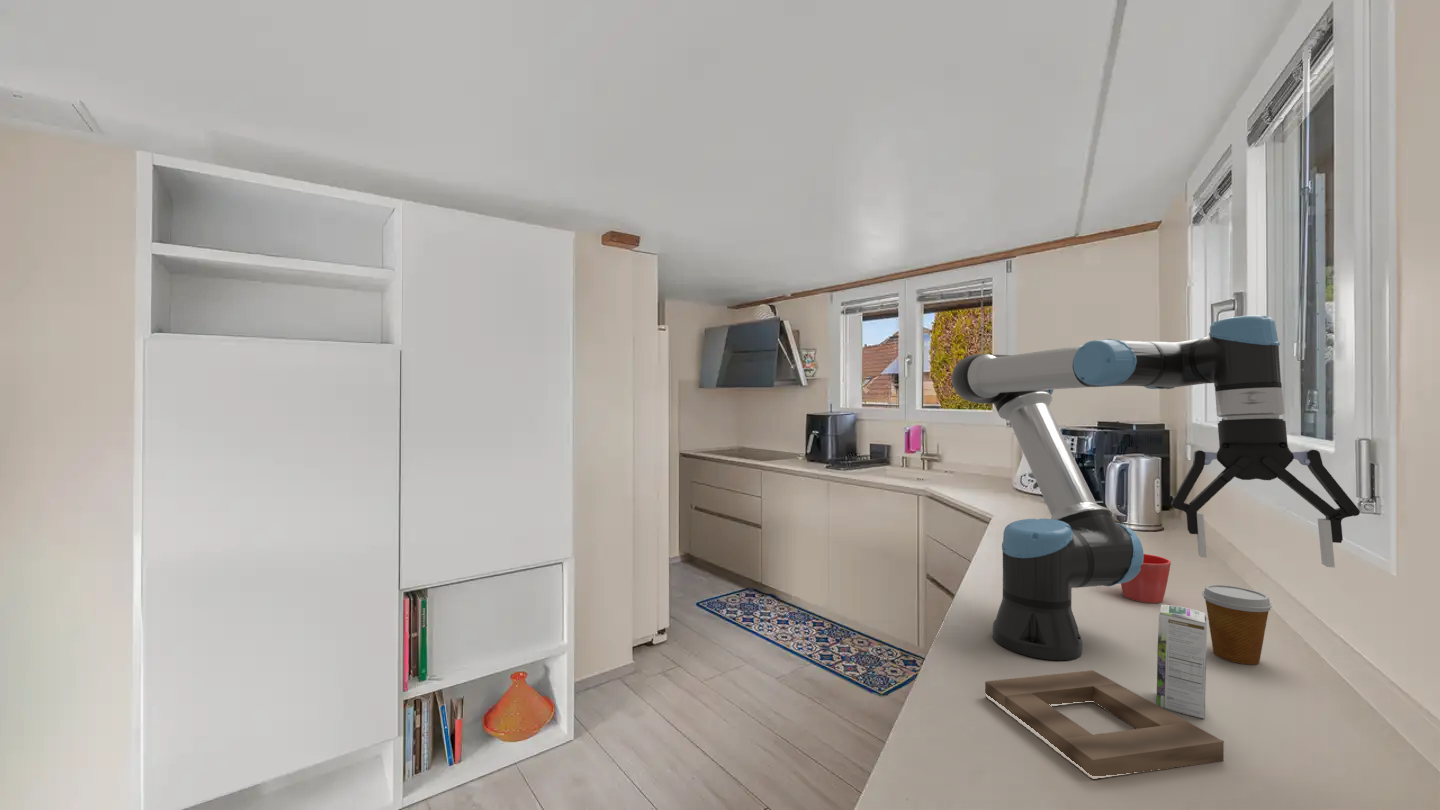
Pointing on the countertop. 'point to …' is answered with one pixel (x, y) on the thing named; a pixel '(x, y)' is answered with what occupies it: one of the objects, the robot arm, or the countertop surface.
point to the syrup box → (1182, 660)
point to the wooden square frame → (1113, 753)
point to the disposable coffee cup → (1236, 622)
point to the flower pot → (1149, 580)
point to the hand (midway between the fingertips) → (1262, 560)
